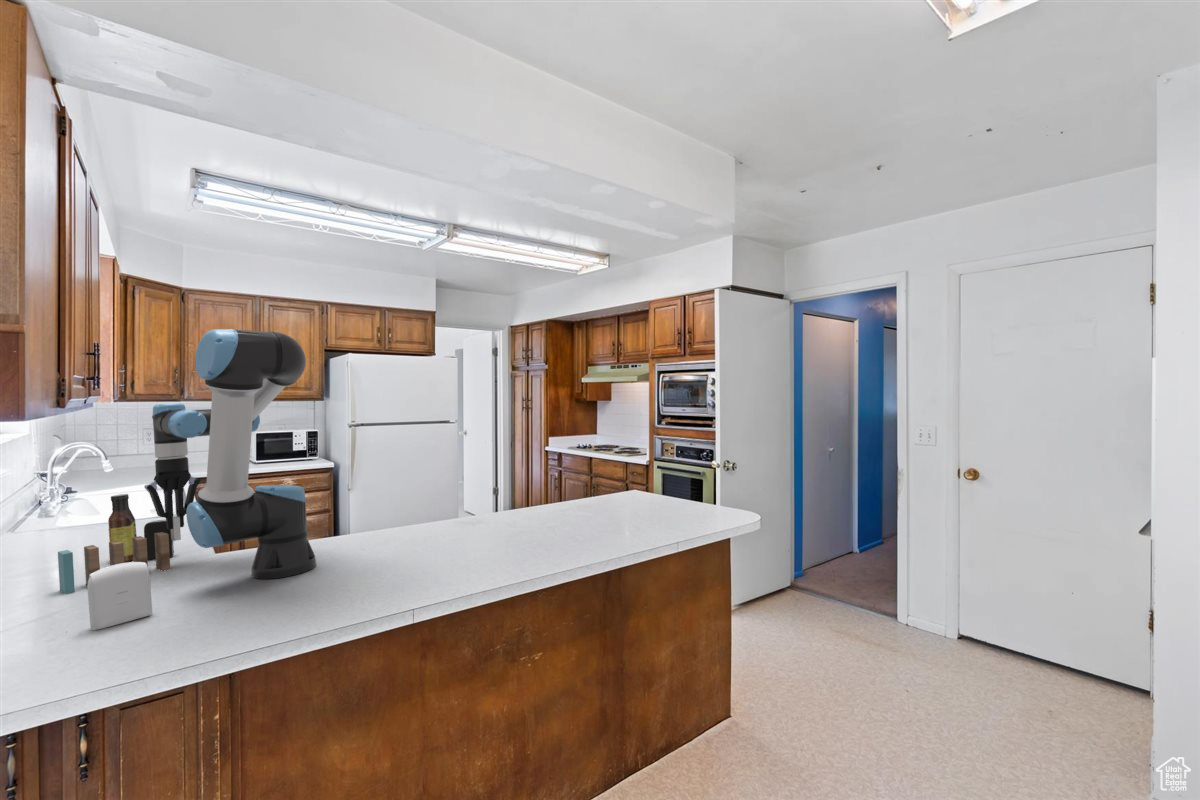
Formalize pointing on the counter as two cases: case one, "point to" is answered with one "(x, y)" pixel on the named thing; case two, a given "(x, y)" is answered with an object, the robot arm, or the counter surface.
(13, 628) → the counter surface
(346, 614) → the counter surface
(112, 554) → the domino
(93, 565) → the domino
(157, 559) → the domino
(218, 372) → the robot arm
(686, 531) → the counter surface
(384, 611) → the counter surface
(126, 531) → the sauce bottle
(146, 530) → the battery charger
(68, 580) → the domino
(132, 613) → the photo printer
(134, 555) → the domino
